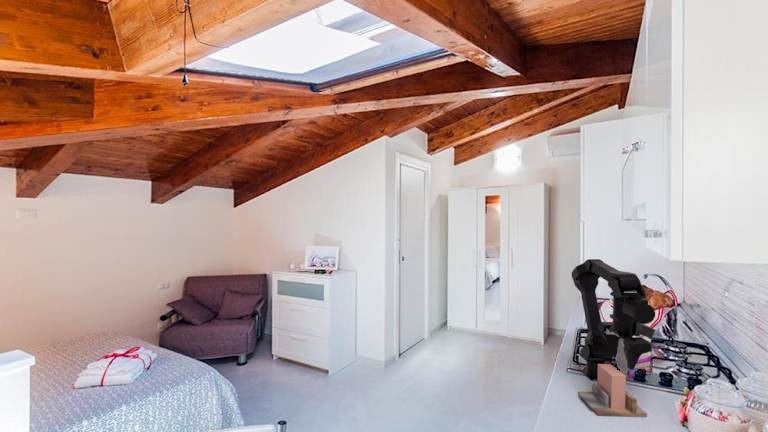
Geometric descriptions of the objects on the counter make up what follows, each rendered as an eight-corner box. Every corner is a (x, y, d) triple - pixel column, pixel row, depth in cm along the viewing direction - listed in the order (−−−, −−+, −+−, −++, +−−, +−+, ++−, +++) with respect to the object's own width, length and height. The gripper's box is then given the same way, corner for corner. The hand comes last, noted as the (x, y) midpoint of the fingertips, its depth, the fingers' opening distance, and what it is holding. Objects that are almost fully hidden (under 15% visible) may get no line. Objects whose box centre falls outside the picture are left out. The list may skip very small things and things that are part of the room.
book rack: (576, 394, 120) (576, 379, 120) (622, 395, 120) (623, 380, 119) (595, 415, 108) (595, 398, 108) (647, 417, 108) (647, 400, 107)
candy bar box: (638, 368, 139) (639, 325, 138) (651, 374, 134) (653, 329, 133) (615, 372, 136) (616, 328, 135) (627, 378, 131) (628, 332, 130)
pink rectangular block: (597, 394, 118) (597, 363, 118) (610, 395, 118) (610, 364, 117) (611, 408, 110) (611, 375, 110) (625, 409, 110) (625, 376, 109)
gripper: (672, 323, 106) (670, 377, 106) (632, 305, 124) (631, 351, 125) (631, 323, 106) (630, 376, 107) (597, 305, 125) (597, 350, 126)
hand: (622, 362), depth 116 cm, fingers open, 9 cm apart
